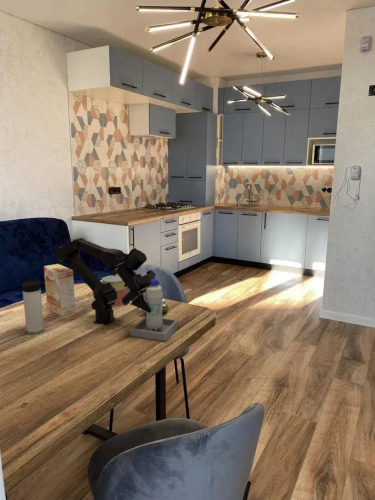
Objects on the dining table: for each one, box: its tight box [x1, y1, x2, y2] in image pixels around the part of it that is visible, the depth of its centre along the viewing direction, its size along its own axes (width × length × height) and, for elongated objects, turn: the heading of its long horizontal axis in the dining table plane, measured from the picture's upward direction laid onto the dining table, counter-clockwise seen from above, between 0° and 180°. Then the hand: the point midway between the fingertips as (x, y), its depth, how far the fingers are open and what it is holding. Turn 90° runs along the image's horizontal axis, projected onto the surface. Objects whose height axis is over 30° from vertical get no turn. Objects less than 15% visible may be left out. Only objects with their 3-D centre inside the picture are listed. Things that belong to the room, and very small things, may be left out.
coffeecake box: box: [43, 263, 77, 317], centre depth 166 cm, size 15×7×20 cm, turn 42°
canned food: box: [101, 274, 128, 308], centre depth 176 cm, size 11×11×12 cm
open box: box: [129, 315, 180, 343], centre depth 144 cm, size 14×14×3 cm
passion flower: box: [138, 294, 169, 316], centre depth 164 cm, size 11×11×12 cm
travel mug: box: [21, 278, 45, 335], centre depth 144 cm, size 6×7×20 cm
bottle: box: [144, 278, 164, 332], centre depth 143 cm, size 7×7×20 cm
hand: (154, 309), depth 143 cm, fingers closed on bottle, 6 cm apart
